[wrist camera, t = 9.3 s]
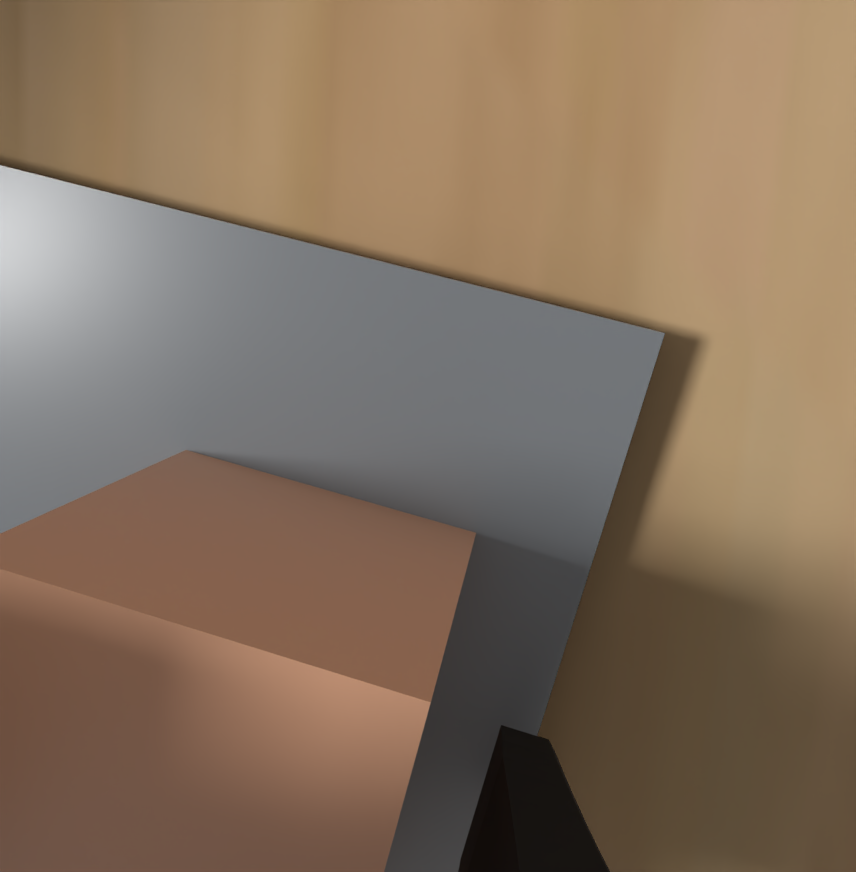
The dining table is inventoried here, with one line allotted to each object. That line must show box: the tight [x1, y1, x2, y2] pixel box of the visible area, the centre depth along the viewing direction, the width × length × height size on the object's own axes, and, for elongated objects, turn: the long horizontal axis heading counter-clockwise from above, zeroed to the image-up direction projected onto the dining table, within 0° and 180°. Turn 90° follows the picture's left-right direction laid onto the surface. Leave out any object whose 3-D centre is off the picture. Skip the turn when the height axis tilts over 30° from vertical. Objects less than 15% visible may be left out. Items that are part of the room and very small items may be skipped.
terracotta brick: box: [0, 450, 476, 872], centre depth 8 cm, size 4×6×4 cm, turn 166°
